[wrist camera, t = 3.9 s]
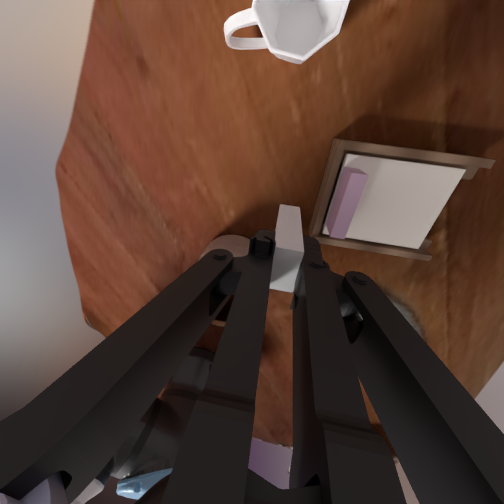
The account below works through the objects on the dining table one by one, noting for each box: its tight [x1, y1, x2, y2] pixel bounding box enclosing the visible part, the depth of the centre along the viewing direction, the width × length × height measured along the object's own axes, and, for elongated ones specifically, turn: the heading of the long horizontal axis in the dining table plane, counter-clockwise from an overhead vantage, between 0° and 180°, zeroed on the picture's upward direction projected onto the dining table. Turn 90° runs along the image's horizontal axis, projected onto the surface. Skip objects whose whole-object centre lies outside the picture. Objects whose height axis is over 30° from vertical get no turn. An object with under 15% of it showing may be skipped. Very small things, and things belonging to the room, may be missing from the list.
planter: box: [198, 235, 250, 327], centre depth 32 cm, size 11×11×10 cm
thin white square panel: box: [322, 153, 466, 249], centre depth 24 cm, size 12×10×4 cm
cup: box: [224, 0, 350, 64], centre depth 18 cm, size 7×10×8 cm
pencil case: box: [309, 138, 496, 261], centre depth 26 cm, size 15×12×4 cm
